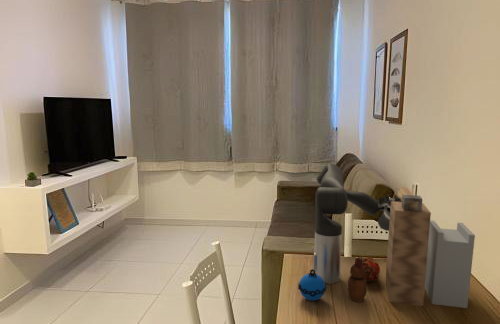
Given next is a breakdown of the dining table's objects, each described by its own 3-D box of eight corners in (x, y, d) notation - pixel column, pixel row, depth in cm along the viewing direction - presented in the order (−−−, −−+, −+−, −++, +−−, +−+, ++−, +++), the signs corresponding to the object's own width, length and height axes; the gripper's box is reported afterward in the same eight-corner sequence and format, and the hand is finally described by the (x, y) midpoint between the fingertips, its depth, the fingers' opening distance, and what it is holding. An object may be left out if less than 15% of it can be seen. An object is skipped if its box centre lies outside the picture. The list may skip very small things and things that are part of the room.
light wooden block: (403, 210, 113) (404, 197, 112) (395, 195, 132) (395, 184, 131) (421, 211, 112) (422, 198, 111) (410, 195, 131) (410, 184, 130)
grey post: (432, 303, 116) (438, 232, 113) (424, 285, 128) (429, 220, 124) (467, 308, 114) (474, 235, 110) (456, 289, 126) (462, 222, 122)
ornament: (323, 292, 123) (324, 264, 121) (326, 306, 115) (327, 276, 113) (297, 291, 124) (298, 263, 122) (298, 305, 115) (299, 275, 114)
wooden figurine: (366, 304, 116) (369, 259, 113) (347, 302, 117) (349, 257, 115) (364, 294, 122) (367, 251, 120) (346, 292, 123) (348, 249, 121)
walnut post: (388, 301, 118) (395, 210, 113) (385, 285, 128) (390, 201, 123) (422, 305, 115) (430, 212, 111) (416, 288, 126) (423, 203, 121)
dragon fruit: (366, 292, 127) (363, 280, 138) (387, 279, 125) (383, 269, 137) (351, 270, 128) (349, 261, 139) (373, 258, 126) (369, 249, 138)
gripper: (376, 199, 152) (380, 187, 137) (413, 201, 148) (421, 189, 134) (375, 217, 149) (380, 207, 135) (413, 220, 146) (422, 209, 131)
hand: (401, 198), depth 134 cm, fingers open, 8 cm apart
